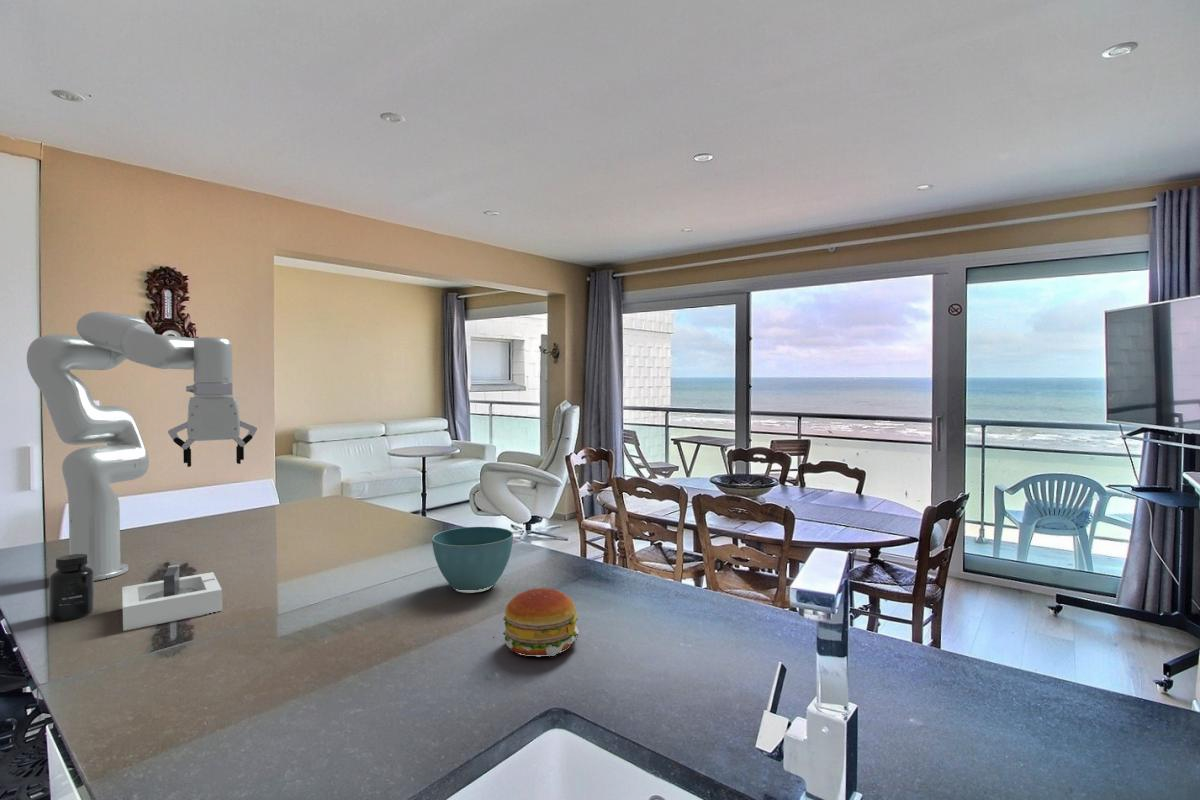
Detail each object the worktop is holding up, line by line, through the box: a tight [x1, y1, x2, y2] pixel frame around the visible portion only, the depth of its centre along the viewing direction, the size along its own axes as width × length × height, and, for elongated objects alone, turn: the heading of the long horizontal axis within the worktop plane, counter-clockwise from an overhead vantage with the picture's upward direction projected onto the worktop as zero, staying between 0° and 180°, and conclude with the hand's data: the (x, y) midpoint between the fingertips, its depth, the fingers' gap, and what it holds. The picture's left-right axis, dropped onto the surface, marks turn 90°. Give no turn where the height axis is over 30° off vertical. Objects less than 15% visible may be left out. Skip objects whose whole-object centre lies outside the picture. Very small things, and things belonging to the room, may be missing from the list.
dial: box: [145, 564, 198, 600], centre depth 124 cm, size 9×9×7 cm
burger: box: [502, 587, 580, 657], centre depth 106 cm, size 13×14×10 cm
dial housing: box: [121, 571, 223, 632], centre depth 124 cm, size 15×16×5 cm
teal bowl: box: [431, 526, 514, 590], centre depth 137 cm, size 18×18×12 cm
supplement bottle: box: [48, 554, 95, 622], centre depth 121 cm, size 7×7×12 cm
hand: (214, 464), depth 138 cm, fingers open, 9 cm apart
